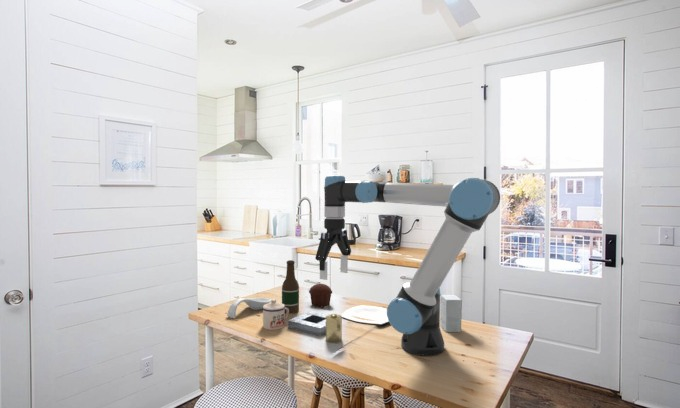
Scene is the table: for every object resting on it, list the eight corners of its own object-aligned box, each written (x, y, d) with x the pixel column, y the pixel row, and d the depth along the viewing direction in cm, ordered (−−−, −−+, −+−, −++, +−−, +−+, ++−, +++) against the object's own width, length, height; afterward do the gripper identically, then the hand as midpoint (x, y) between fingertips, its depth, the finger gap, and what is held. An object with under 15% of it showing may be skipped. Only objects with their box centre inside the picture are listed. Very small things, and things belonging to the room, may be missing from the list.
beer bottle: (302, 312, 175) (302, 260, 174) (291, 316, 168) (291, 263, 167) (289, 309, 179) (289, 258, 178) (278, 313, 172) (278, 261, 172)
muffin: (336, 303, 188) (336, 283, 188) (324, 309, 179) (324, 288, 178) (317, 300, 194) (317, 280, 194) (303, 305, 185) (304, 285, 185)
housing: (340, 327, 155) (340, 317, 155) (320, 338, 144) (320, 328, 144) (309, 320, 164) (309, 311, 164) (287, 330, 152) (287, 320, 152)
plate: (383, 331, 153) (383, 326, 153) (334, 321, 164) (334, 316, 164) (403, 315, 173) (403, 311, 173) (358, 307, 184) (358, 303, 184)
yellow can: (344, 340, 141) (344, 314, 141) (336, 345, 136) (336, 318, 136) (331, 336, 145) (331, 311, 144) (322, 342, 140) (322, 315, 139)
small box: (461, 332, 151) (462, 299, 151) (445, 332, 151) (446, 300, 151) (454, 325, 159) (455, 294, 159) (439, 325, 159) (440, 294, 159)
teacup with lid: (271, 334, 148) (271, 304, 148) (257, 328, 154) (257, 299, 154) (295, 326, 157) (295, 298, 156) (281, 321, 163) (281, 294, 163)
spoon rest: (257, 303, 190) (257, 288, 189) (276, 306, 184) (276, 292, 184) (221, 316, 169) (221, 300, 169) (241, 321, 163) (241, 304, 163)
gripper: (343, 215, 151) (343, 268, 152) (305, 219, 130) (305, 281, 131) (360, 216, 147) (359, 271, 148) (323, 220, 126) (322, 284, 127)
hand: (334, 275), depth 140 cm, fingers open, 13 cm apart
